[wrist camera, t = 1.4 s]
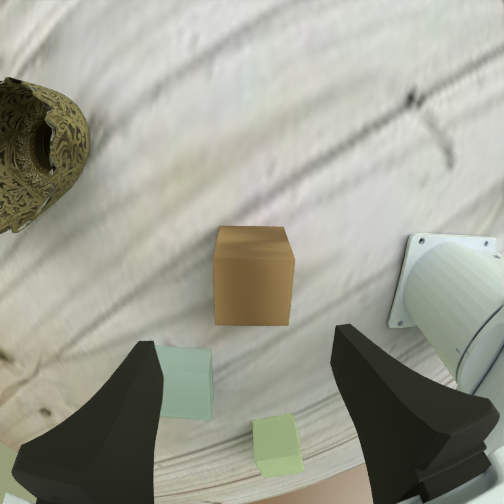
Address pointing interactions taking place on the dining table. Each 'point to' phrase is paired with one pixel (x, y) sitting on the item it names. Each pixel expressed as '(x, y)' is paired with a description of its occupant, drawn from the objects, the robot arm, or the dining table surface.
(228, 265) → the walnut block
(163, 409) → the mint green base block
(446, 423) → the robot arm
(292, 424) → the sage block
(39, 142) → the cup
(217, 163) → the dining table surface
